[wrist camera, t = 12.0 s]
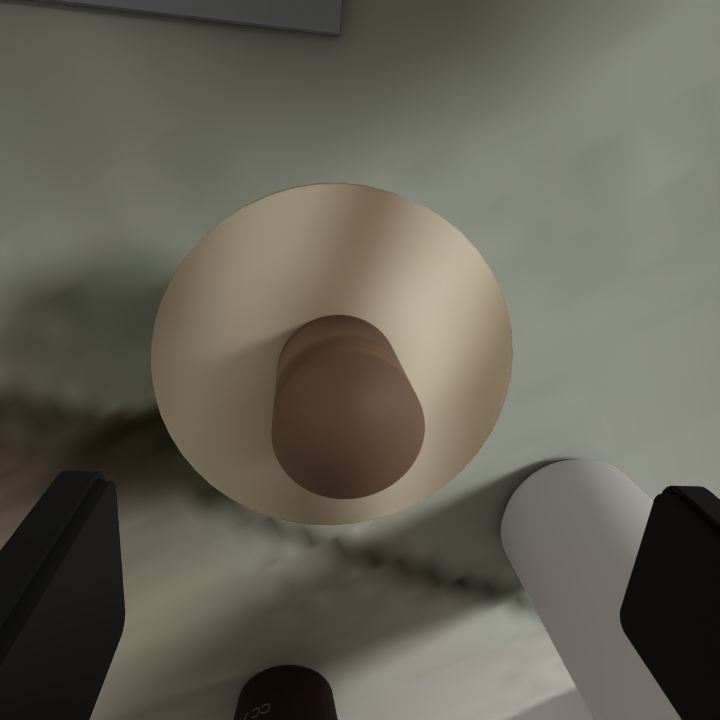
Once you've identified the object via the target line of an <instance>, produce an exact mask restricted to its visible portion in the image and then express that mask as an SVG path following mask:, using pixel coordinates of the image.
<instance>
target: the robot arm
mask: <svg viewBox="0 0 720 720" xmlns="http://www.w3.org/2000/svg"><path fill="white" fill-rule="evenodd" d="M124 621H125V603H124V589H123V576H122V562H121V549H120V535H119V521H118V508H117V494H116V486H115V483H114V482H113V481H105V479H104V476H103V474H102V473H101V472H93V471H62V472H61V473H60V474H59V475H58V476H57V477H56V479H55V480H54V481H53V483H52V484H51V485H50V486H49V488H48V489H47V490H46V492H45V493H44V494H43V496H42V497H41V498H40V499H39V501H38V502H37V503H36V505H35V506H34V507H33V509H32V510H31V511H30V513H29V514H28V515H27V516H26V518H25V519H24V520H23V522H22V523H21V524H20V526H19V527H18V528H17V529H16V531H15V532H14V533H13V535H12V536H11V537H10V539H9V540H8V541H7V543H6V544H5V545H4V546H3V548H2V549H1V550H0V720H89V719H90V717H91V714H92V711H93V709H94V706H95V704H96V701H97V698H98V696H99V693H100V691H101V688H102V685H103V683H104V680H105V677H106V675H107V672H108V670H109V667H110V664H111V662H112V659H113V656H114V654H115V651H116V649H117V646H118V643H119V641H120V638H121V635H122V632H123V627H124ZM620 623H621V626H622V629H623V631H624V633H625V635H626V636H627V638H628V639H629V641H630V642H631V644H632V645H633V647H634V648H635V650H636V651H637V653H638V654H639V656H640V657H641V659H642V660H643V662H644V664H645V665H646V667H647V668H648V670H649V671H650V673H651V674H652V676H653V677H654V679H655V680H656V682H657V683H658V685H659V686H660V688H661V689H662V691H663V692H664V694H665V695H666V697H667V698H668V700H669V701H670V703H671V704H672V706H673V707H674V709H675V710H676V712H677V713H678V715H679V716H680V718H681V719H682V720H720V499H719V498H717V497H716V496H715V495H714V494H713V493H711V492H710V491H709V490H707V489H706V488H704V487H699V486H669V487H666V488H665V489H664V490H663V492H662V494H659V495H657V496H656V497H655V499H654V501H653V505H652V508H651V511H650V514H649V518H648V521H647V524H646V527H645V531H644V534H643V537H642V540H641V543H640V547H639V550H638V553H637V556H636V560H635V563H634V566H633V569H632V573H631V576H630V579H629V582H628V586H627V589H626V592H625V595H624V599H623V602H622V605H621V608H620Z"/></svg>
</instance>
